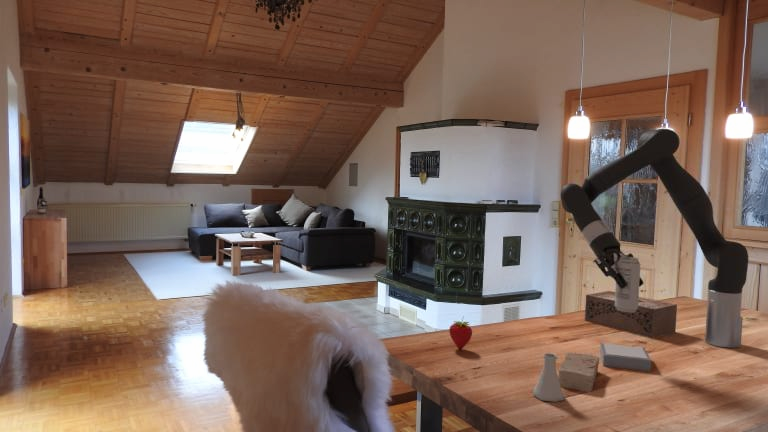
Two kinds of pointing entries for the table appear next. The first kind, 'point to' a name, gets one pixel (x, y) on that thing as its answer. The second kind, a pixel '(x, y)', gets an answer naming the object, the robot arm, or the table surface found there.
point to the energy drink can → (628, 285)
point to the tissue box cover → (632, 315)
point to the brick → (578, 371)
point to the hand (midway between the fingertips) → (632, 285)
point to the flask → (549, 381)
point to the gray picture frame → (625, 357)
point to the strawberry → (460, 333)
